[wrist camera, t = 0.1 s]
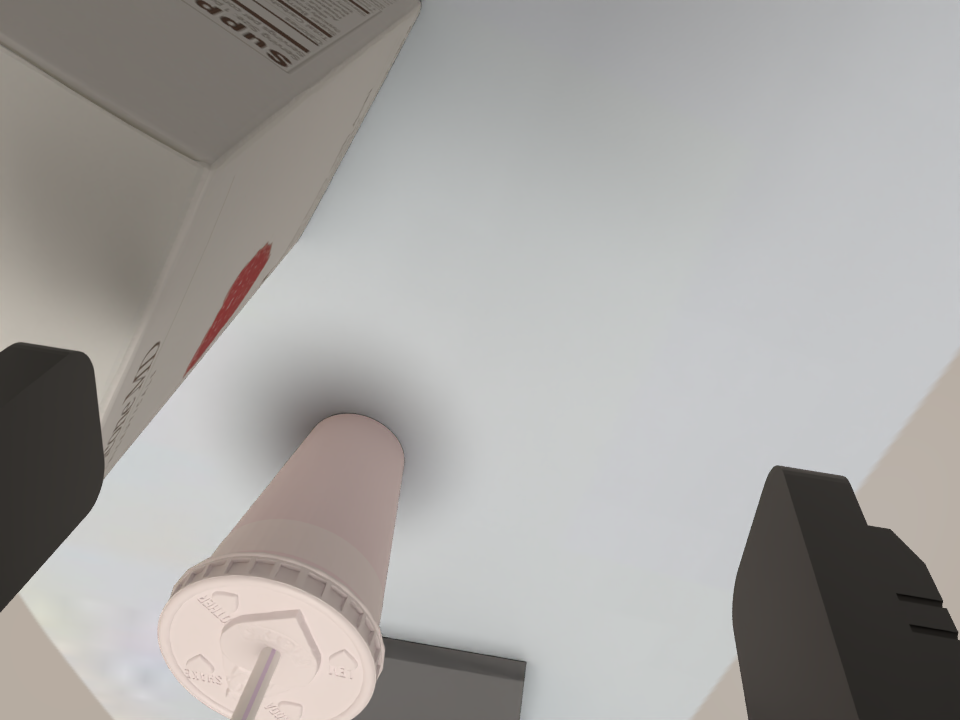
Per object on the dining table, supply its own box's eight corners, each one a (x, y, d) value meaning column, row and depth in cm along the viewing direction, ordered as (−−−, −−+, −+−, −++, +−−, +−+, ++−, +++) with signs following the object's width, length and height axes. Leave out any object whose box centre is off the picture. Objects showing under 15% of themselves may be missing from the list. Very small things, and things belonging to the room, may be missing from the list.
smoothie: (472, 439, 31) (379, 803, 19) (392, 546, 35) (269, 916, 23) (314, 350, 30) (114, 676, 18) (247, 469, 34) (39, 813, 22)
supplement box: (299, 251, 29) (38, 578, 16) (46, 98, 27) (-467, 322, 14) (435, 0, 24) (223, 174, 11) (140, -198, 23) (-485, -256, 10)
